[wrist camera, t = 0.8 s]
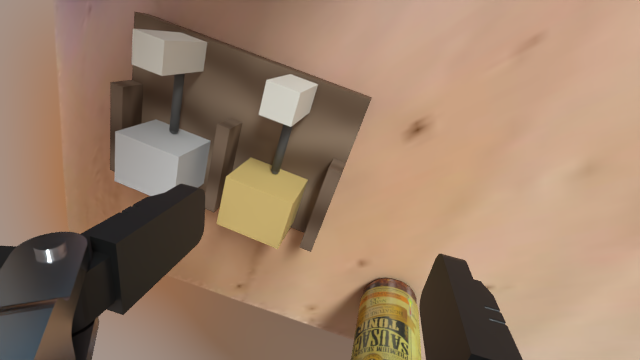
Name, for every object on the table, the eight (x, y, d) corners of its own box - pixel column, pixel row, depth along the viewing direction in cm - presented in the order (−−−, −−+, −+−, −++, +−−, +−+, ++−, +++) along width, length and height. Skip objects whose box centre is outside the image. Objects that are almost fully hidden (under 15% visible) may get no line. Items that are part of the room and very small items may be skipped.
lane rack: (147, 13, 28) (110, 8, 24) (371, 97, 26) (368, 104, 23) (139, 157, 34) (110, 169, 31) (319, 230, 33) (310, 251, 29)
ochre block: (272, 66, 26) (242, 70, 20) (338, 91, 25) (324, 101, 20) (241, 199, 32) (212, 228, 26) (294, 220, 31) (275, 253, 26)
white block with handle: (163, 25, 26) (110, 20, 21) (225, 49, 26) (187, 48, 21) (152, 162, 32) (110, 183, 27) (203, 183, 32) (169, 207, 27)
